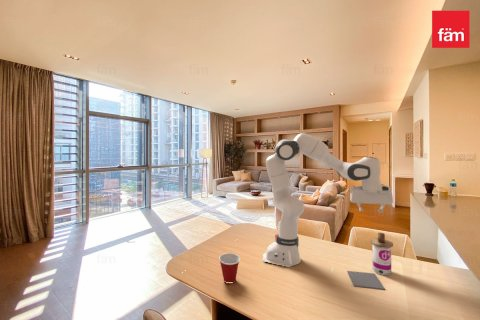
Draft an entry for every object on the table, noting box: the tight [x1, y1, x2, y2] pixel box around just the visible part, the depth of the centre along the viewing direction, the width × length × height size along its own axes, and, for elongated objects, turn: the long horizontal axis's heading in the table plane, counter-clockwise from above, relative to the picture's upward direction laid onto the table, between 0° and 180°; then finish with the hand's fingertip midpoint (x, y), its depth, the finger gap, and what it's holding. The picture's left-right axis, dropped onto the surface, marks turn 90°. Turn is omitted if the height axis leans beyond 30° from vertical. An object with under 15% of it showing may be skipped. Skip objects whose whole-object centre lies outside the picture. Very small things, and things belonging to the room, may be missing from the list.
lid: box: [369, 232, 394, 248], centre depth 113 cm, size 10×10×5 cm
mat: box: [346, 270, 386, 291], centre depth 106 cm, size 13×13×1 cm
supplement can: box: [371, 244, 392, 276], centre depth 113 cm, size 8×8×15 cm
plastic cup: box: [218, 252, 241, 283], centre depth 108 cm, size 11×11×12 cm
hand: (370, 211), depth 119 cm, fingers open, 8 cm apart
